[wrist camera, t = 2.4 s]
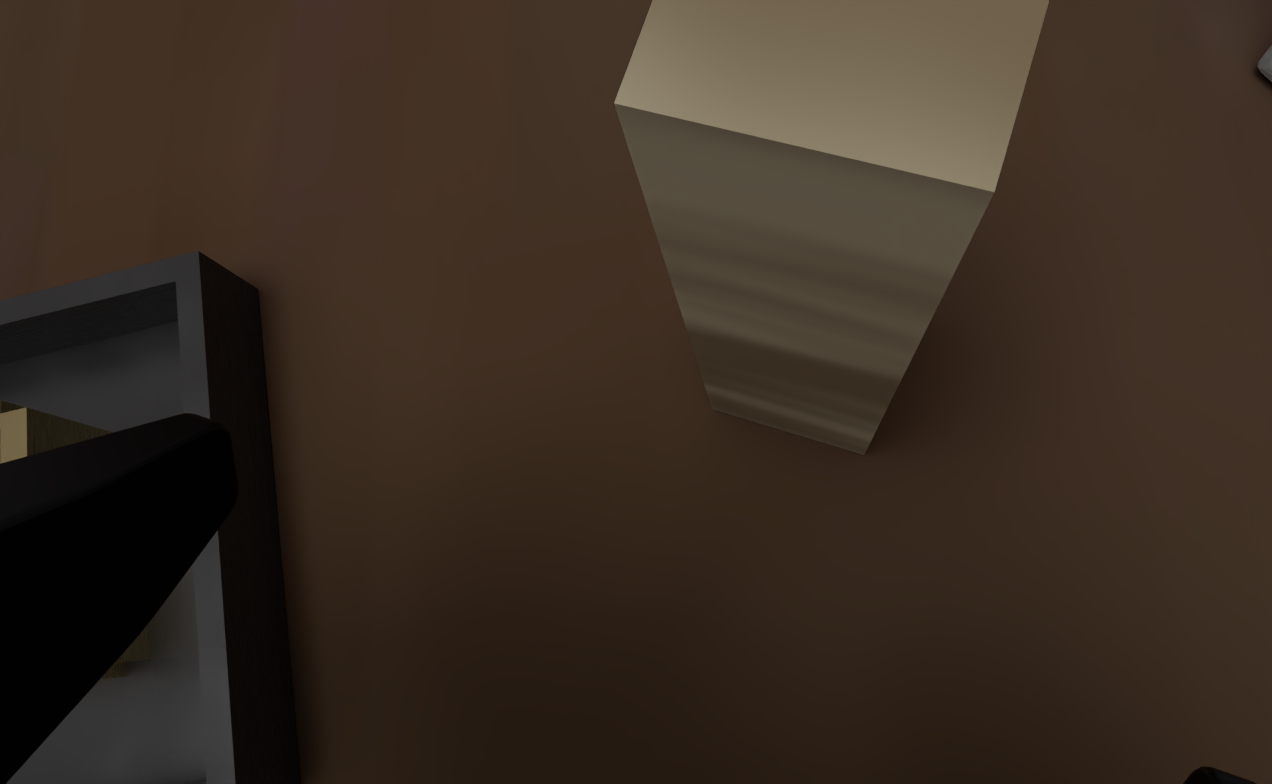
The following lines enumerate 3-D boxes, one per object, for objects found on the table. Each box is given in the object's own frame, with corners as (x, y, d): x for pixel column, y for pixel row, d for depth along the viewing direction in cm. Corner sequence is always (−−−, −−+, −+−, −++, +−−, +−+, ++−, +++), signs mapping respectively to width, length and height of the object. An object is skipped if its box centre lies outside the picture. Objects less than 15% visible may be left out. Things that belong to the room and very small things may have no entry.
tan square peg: (863, 455, 20) (994, 192, 8) (712, 409, 21) (614, 103, 9) (907, 309, 21) (1091, -146, 9) (758, 270, 22) (728, -202, 9)
